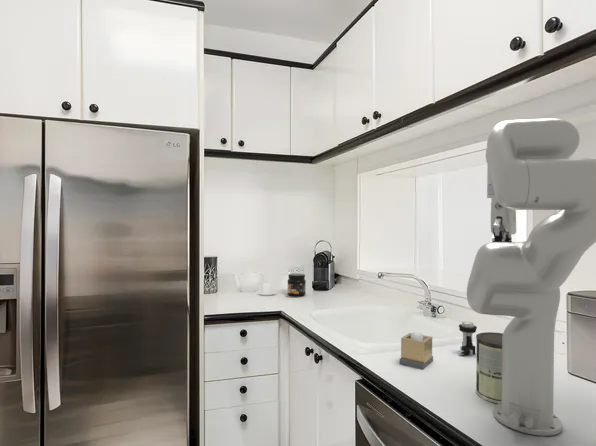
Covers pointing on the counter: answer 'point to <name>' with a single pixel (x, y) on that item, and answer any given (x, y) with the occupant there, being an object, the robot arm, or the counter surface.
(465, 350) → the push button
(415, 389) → the counter surface
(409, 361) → the piston block
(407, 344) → the collar
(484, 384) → the coffee can
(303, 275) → the supplement container
